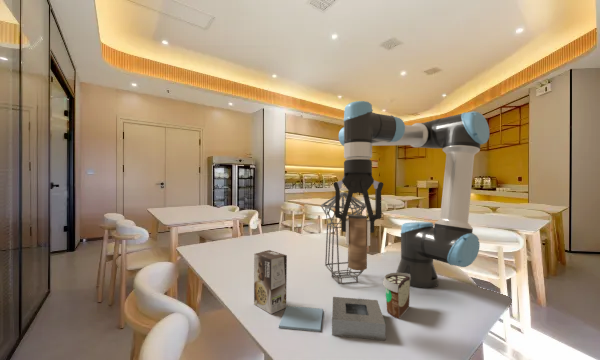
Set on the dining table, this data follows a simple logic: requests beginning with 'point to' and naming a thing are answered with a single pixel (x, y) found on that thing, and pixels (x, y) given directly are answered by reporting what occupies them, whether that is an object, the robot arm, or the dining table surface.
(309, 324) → the light blue square plate
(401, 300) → the food container
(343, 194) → the geometric lantern
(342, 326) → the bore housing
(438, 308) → the dining table surface
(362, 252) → the wooden cylinder
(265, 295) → the coffee box
